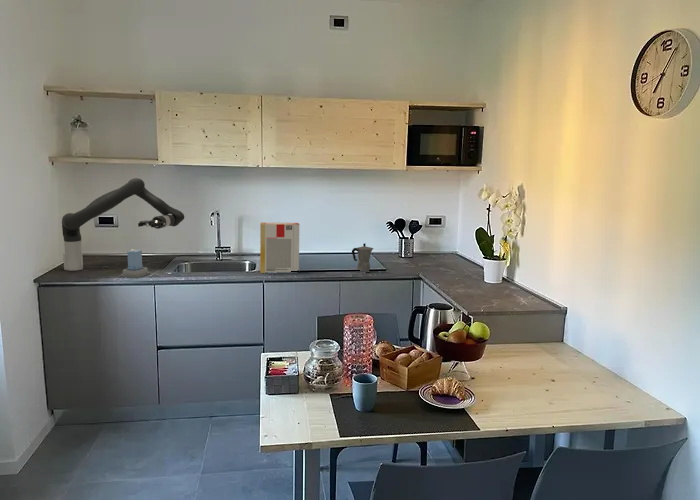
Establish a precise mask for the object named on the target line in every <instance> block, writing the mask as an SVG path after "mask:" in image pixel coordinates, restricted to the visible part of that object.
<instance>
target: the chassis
mask: <svg viewBox="0 0 700 500" xmlns="http://www.w3.org/2000/svg"><path fill="white" fill-rule="evenodd" d="M149 273H150V274H151V271H148V267H144V266H143V267H142V269H141V270H138V271H132V270H128V269H127V268H125V269H122V273H121V274H120V276H122V278H130V277H131V278H133V279H139V278H142V277H144V275H145V276H147V275H146V274H148V275H150V274H149ZM141 276H142V277H141Z"/></svg>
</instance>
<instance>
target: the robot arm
mask: <svg viewBox="0 0 700 500" xmlns="http://www.w3.org/2000/svg"><path fill="white" fill-rule="evenodd" d="M134 195H135V196H137V197H139V198H140V199H142V200H143V201H145V202H146V203H147V204H149V205H150V206H151V207H152V208H153V209H155V211H157V212H158V213H160V214H161V215H157V216H154V217H153V218H152V219H148V220H147V219H145V220H140V221H139V222H138V223H137V225H138V226H137V227H138V228H139V227H150V228H154V229H157V230H159V229H164V228H166V227H177V226H178V225H180V223H181V222H183V221H184V219H185V215H184V213H183V212H182V211H181V210H179V209H176V208H175V207H173V206H170V205H169V204H167V202H165V201H164V200H162V198H160V197H158V196H156V195H155V194H153V193H152V192H151V191H149V190H148V189H147V188H146V187H145V181H144V180H143V179H141V178H138V177H135V178H131V179H130V180H128V182H127V183H125V184H124V185H122V186H120V187H119V188H117V189H114V190H111V191H109V192H107V193H105V194H102V195H101V196H98V197H97V198H95V199H94V200H92V201H91V202H90V203H89V204H88V205H87V206H86V207H84V208H83V209H81V210H78V211H76V212H74V213H72V212H68V213H66V214H64V215H63V216H62V217H61V218H62V219H61V229H62V236H63V248H64V253H63V269H64V271H70V272H71V271H72V272H73V271H80V270H83V269H84V264H83V263H84V262H83V244H82V234H81V228H80V227H82V226H83V225H85V224H86V223H88V222H89V221H91V220H92V219H94V218H96V217H98V216H100V215H102V214H104V213H106V212H108V211H110V210H111V209H113V208H115V207H117V206H118V205H119V204H121V203H122V202H124V201H125V200H127V199H128V198H130V197H132V196H134Z"/></svg>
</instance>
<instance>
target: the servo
mask: <svg viewBox="0 0 700 500" xmlns="http://www.w3.org/2000/svg"><path fill="white" fill-rule="evenodd" d="M142 251H143V250H142V249H130V250H128V251H127V254H126V255H127V268H126V269H128V270H132V271H138V270H141V269H142V267H144V265H143V255H142V253H143V252H142Z"/></svg>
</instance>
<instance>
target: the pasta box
mask: <svg viewBox="0 0 700 500" xmlns="http://www.w3.org/2000/svg"><path fill="white" fill-rule="evenodd" d="M259 226H260V237H259V238H260V247H259V248H260V250H259V251H260V254H259V255H260V256H259V257H260V261H259V262H260V263H259V265H260V266H259V267H260V268H259V269H260V271H259V272H261V273H265V272H291V271H297V270H299V271H300V223H299V222H260V225H259ZM261 273H260V274H261Z"/></svg>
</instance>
